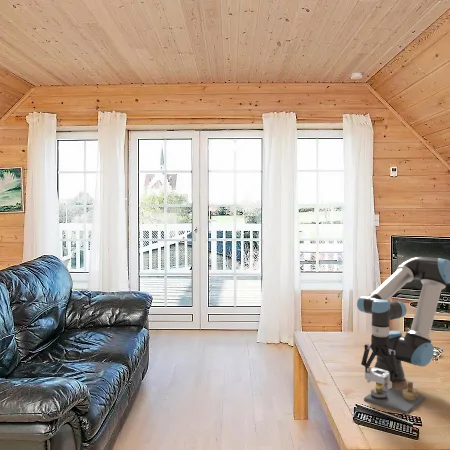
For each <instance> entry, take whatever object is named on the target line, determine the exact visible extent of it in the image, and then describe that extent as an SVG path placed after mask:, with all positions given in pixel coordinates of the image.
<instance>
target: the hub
mask: <svg viewBox="0 0 450 450" xmlns="http://www.w3.org/2000/svg"><path fill="white" fill-rule="evenodd" d="M383 386H384V384H381V383H378V382H375V388H373V389H371V390H370V394H371V397H373V398H375V399H379V400H384V399H387V392H386V391H385V390H382V388H383Z"/></svg>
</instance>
